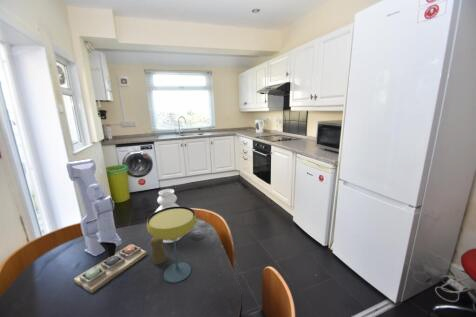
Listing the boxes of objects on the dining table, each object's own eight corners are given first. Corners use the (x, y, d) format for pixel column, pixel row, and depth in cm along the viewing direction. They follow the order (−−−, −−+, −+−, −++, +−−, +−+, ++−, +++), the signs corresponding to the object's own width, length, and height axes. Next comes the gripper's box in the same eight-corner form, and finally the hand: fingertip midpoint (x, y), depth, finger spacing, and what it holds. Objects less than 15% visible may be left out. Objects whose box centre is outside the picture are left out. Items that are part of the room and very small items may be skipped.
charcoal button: (104, 265, 89) (104, 261, 88) (115, 258, 92) (114, 254, 92) (111, 268, 87) (110, 264, 86) (121, 261, 90) (120, 257, 90)
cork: (161, 265, 90) (158, 242, 88) (148, 263, 91) (145, 241, 89) (168, 255, 96) (166, 234, 94) (156, 254, 97) (154, 233, 95)
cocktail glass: (207, 261, 92) (203, 208, 86) (185, 295, 75) (178, 232, 69) (171, 254, 97) (166, 204, 92) (143, 284, 80) (135, 225, 75)
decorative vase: (183, 246, 103) (178, 198, 97) (147, 246, 103) (140, 199, 98) (191, 226, 120) (188, 185, 115) (160, 227, 120) (155, 185, 115)
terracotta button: (122, 253, 96) (122, 250, 95) (131, 248, 99) (131, 244, 99) (128, 256, 94) (128, 252, 93) (137, 251, 97) (137, 247, 97)
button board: (74, 281, 82) (73, 275, 82) (130, 247, 103) (129, 241, 102) (91, 293, 77) (90, 286, 76) (146, 254, 97) (146, 248, 97)
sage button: (84, 278, 82) (83, 273, 81) (96, 270, 86) (95, 266, 85) (90, 282, 80) (89, 277, 79) (102, 274, 84) (101, 270, 83)
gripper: (86, 226, 86) (92, 255, 89) (107, 235, 79) (112, 266, 82) (103, 218, 92) (108, 246, 95) (124, 226, 85) (129, 256, 88)
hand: (111, 255), depth 89 cm, fingers closed
